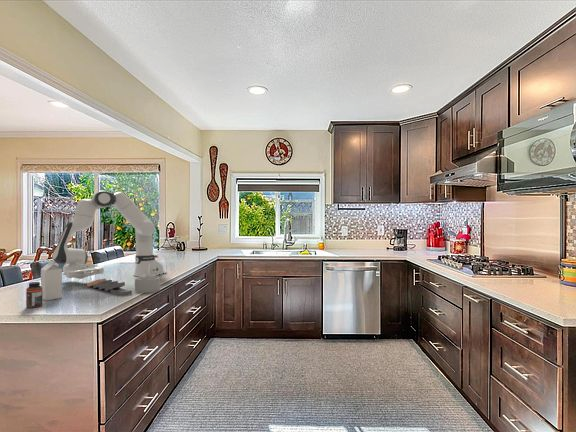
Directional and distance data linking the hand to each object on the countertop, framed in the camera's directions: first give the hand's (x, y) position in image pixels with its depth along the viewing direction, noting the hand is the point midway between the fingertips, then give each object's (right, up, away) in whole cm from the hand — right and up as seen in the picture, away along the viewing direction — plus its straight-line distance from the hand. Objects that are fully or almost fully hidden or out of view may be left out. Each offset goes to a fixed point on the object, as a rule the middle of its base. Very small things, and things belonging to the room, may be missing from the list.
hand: (91, 273), depth 197 cm
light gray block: (+38, -8, -10) cm, 40 cm away
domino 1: (+6, -7, -4) cm, 10 cm away
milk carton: (-3, -8, -29) cm, 30 cm away
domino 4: (+21, -7, -14) cm, 27 cm away
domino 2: (+11, -7, -8) cm, 15 cm away
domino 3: (+17, -7, -11) cm, 21 cm away
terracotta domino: (0, -7, 0) cm, 7 cm away
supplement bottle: (0, -8, -44) cm, 45 cm away
